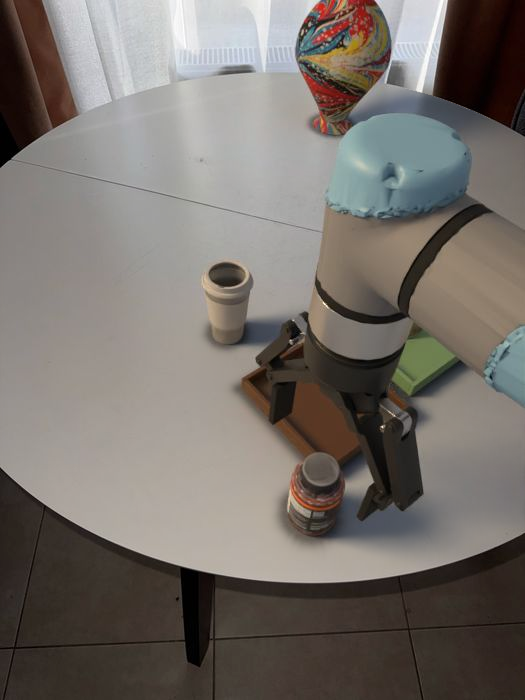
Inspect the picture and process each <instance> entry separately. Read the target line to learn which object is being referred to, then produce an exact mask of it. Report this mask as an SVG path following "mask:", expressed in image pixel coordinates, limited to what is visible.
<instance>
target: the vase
mask: <svg viewBox="0 0 525 700" xmlns="http://www.w3.org/2000/svg"><path fill="white" fill-rule="evenodd" d="M392 44H393V43H392V36H391V30H390V27H389V24H388V21H387V18H386V16H385V14H384V12H383V10H382V8H381V7H380V5H379V3H377V1H376V0H319V1H318V2H317V3H316V4H315V5H314V6H313V7H312V8H311V10H310V11H309V12H308V14H307V16H306V17H305V18H304V20H303V22H302V24H301V26H300V29H299V30H298V33H297V37H296V41H295V48H294V58H295V62H296V65H297V67H298V69H299V71H300V74H301V76H302V77H303V79H304V81H305V83H306V85H307V87H308V89H309V91H310V94H311V95H312V98H313V99H314V101H315V103H316V106H317V108H318V112H319V116H318V117H315V119H314V120H313V122H312V124H313V127H314V128H315V129H316V130H317V131H319V132H321V133H322V134H325V135H332V136H340V135H345V134H346V132H347V131H348V130H349V129H350V128H352V127H353V124H352V123H351V121H350V120H349V119H348V118H349V116H350V115H351V112H352V111H353V110H354V108H356V106H357V105H358V104H359V103H360V102H361V100H362V99H363V98H364V97H365V96H366V95H367V94H368V92H370V90H371V89H372V88H373V87H374V86H375V85H376V84H377V82H378V81H379V80H380V79H381V78H382V77H383V75H384V74H385V73H386V71H387V70H388V68H389V66H390V62H391V57H392V50H393V49H392Z"/></svg>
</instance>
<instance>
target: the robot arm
mask: <svg viewBox="0 0 525 700" xmlns="http://www.w3.org/2000/svg"><path fill="white" fill-rule="evenodd" d="M472 164H473V156H472V152H471V148H470V147H469V145H468V144H467V143H466V142H463V141H462V139H461V135H460V134H459V133H458V131H456V130H455V129H454V128H452V127H451V126H449V125H447V124H445V123H443V122H442V121H439V120H436V119H434V118H430V117H428V116H424V115H419V114H414V113H407V112H405V113H403V112H391V113H390V112H389V113H382V114H377V115H373V116H371V117H370V118H368V119H366V120H362V121H359V122H357V123H356V124H354V125H352V128H350V129H349V130H348V131H347V132H346V133H345V134H343V136H342V138H341V140H340V142H339V145H338V148H337V152H336V156H335V160H334V164H333V169H332V173H331V176H330V181H329V184H328V187H327V189H326V191H325V198H324V199H325V207H324V216H323V223H322V224H323V225H322V232H321V233H322V234H321V241H320V248H319V255H318V261H317V265H316V271H315V275H314V280H313V287H312V291H311V298H310V301H309V302H310V303H309V308H308V311H306V310H304V311H302V312H301V313H299V314H297V315H295V316H293V317H292V318H290V319H288V320H287V321H284V322H282V324H281V328H280V332H279V336H278V337H276V338H275V339H274V340H273V341H272V342H270V343H269V344H268V345H267V346H266V347H265V348H264V349H262V351H261V352H259V353H258V354H257V355H256V356H255V363H256V364H257V365H258V366H259V368H260V367H263V366H265V367H266V369H267V370H268V372H267V373H266V375H267V378H268V379H269V387H268V391H269V394H270V395H271V401H270V410H269V418H268V422H269V423H270V424H271V425H272V426H274V425H275V424H276V423H277V422H279V421H280V420H282V419H283V418H285V417H286V416H288V415H289V414H291V413H292V409H293V403H294V396H295V390H296V384H297V381H301V382H302V383H315V384H318V386H319V387H320V388H319V390H320V391H321V392H322V393H323V394H324V395H325V396H326V397H328V398H329V399H331V400H332V402H333V403H334V404H335V405H336V407H337V408H338V409H339V410H340V411H341V412H342V413H343V416H344V419H345V421H346V424H347V426H348V429H349V431H351V432H354V433H356V436H357V438H358V441H359V444H360V446H361V449H362V451H361V452H362V454H363V456H364V459H365V462H366V464H367V468H368V470H369V473H370V476H371V478H372V480H373V482H372V483H371V484H370V485H368V487H367V489H366V492H365V494H364V496H363V499H362V501H361V504H360V506H359V509H358V511H357V513H356V516H355V517H356V518H357V519H358V520H359V522H361V523H363V522H364V521H365V520H367V519H368V518H369V517H370V516H371V515H372V514H374V513H375V512H376V511H377V510H379V512H384V511H385V510H387V509H388V508H389V507H390V506H391V505H392V504H394V507H396V508H397V509H398V510H399V511H400V512H405V511H406V510H407V509H409V508H410V507H411V506H412V505H413V504H415V503H416V502H417V501H418V500H419V499H420V498H421V497H422V496H424V494H425V493H424V492H425V491H424V485H423V478H422V477H423V476H422V469H421V464H420V463H421V462H420V456H419V448H418V442H417V435H416V428H417V425H418V421H419V412H418V411H417V409H416V408H415V407H413V405H412V406H411V405H410V406H408V407H406V408H405V409H404V410H401V409H400V408H399V407H398V406H397V405H395V404H394V403H393V402H392V401H390V400H389V392H388V387H389V385H390V383H391V381H392V380H391V379H392V377H393V375H394V373H395V371H396V369H397V366H398V363H399V361H400V358H401V355H402V353H403V350H404V347H405V344H406V340H407V338H408V335H409V333H410V330H411V327H412V325H413V322H414V323H416V324H417V325H418V326H419V327H421V328H422V329H423V330H424V331H425V332H427V333H428V334H429V335H430V336H432V337H433V338H434V339H435V340H436V341H438V342H439V343H440V344H441V345H443V346H444V347H445V348H446V349H448V350H449V351H450V352H451V353H452V354H454V355H455V356H456V357H457V358H459V359H460V360H459V361H461V362H462V363H464V364H465V366H467V367H468V368H470V369H471V370H472V371H473V372H474V373H476V374H477V375H478V376H479V377H481V378H482V379H483V380H484V381H485V384H486V385H488V386H489V387H490V388H492V389H493V390H494V391H495V392H497V393H500V394H504V395H505V396H506V397H508V398H509V399H511V400H512V401H513V402H515V403H517V405H519V406H521V407H522V408H523V409H525V229H523V228H522V227H521V226H518V225H517V224H515V223H513V222H512V221H510V220H509V219H507V218H505V217H504V216H502V215H500V214H499V213H497V212H495V211H494V210H492V209H490V208H489V207H487V206H486V205H485V204H483V202H481V201H479V200H477V199H476V198H474V197H472V196H470V195H469V194H468V193H467V190H468V186H469V185H470V174H471V170H472V166H473V165H472ZM302 343H304V358H303V359H295V360H292V359H291V358H292V357H291V358H289V359H288V360H286V361H285V362H283V361H282V359H281V358H280V356H281V355H282V354H284V353H285V352H286V351H288V350H290V349H291V348H293V347H295V346H296V345H298V344H302ZM357 414H364V415H363V416H361V417H360V418H358V417H357Z"/></svg>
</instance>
